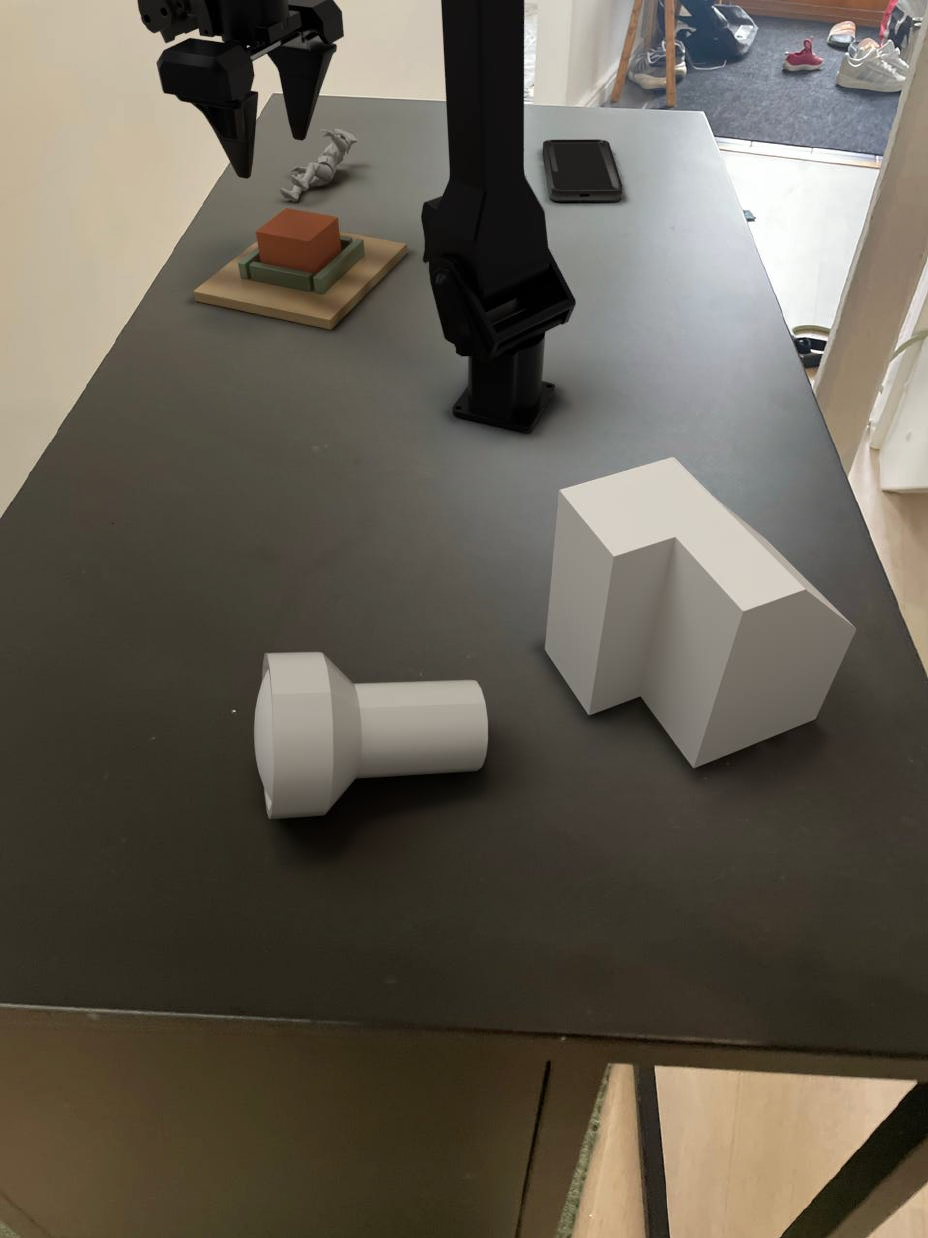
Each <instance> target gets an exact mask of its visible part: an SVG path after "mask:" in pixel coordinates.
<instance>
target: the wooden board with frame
mask: <svg viewBox="0 0 928 1238" xmlns="http://www.w3.org/2000/svg"><path fill="white" fill-rule="evenodd" d="M339 232H340V242H341V253H340V254H339V255H338V256H337V257H335V258H334V259H333V260H332V261H331V262H330V263H329V264H328V265H327V266H326V267H324V268H323V269H322V270H321V271H320V272H319V273H318V274H317V275H316V276H314V278H313V273H310V272H305V271H300V270H295V269H290V268H284V267H279V266H274V265H269V264H264V263H261V260H260V254H259V248H258V242H257V240H256V241H255V242H253V243H252V244H251V245H250V246H249V247H247V248H246V249H244V251H242V252H241V253H240V254H238V255H237V256H236V257H234V258H233V259H232V260H231V261H229V262H228V263H227V264H226V265H224V266H223V267H222V268H220V269H219V270H218V271H217V272H215V273H214V274H213V275H212V276H210V277H209V278H208V279H207V280H205V281H204V282H202V284H200V285H199V286H198V287H197V288H195V289H194V290H193V291H192V292H193V296H194V300H195V302H198V303H203V304H207V305H212V306H217V307H222V308H226V309H230V310H236V311H241V312H246V313H249V314H255V315H259V316H264V317H269V318H274V319H279V320H281V321H282V320H283V321H288V322H292V323H297V324H301V325H306V326H311V327H316V328H320V329H325V330H329V331H332V330H333V329H334V328H335V327H336V326H337V325H338V324H339V323H340V321H342V320H343V319H344V318H345V317H346V316H347V315H348V314H349V312H351V311H352V310H353V309H354V307H356V306H357V304H359V303H360V301H362V300H363V299H364V298H365V296H366V295H367V294H368V293H369V292H370V291H371V290H372V289H373V288H374V287H375V286H376V285H378V283H379V282H380V281H381V280H382V279H384V277H385V276H386V275H388V273H389V272H390V271H391V270H392V269H394V268H395V266H396V265H397V264H398V263H399V262H400V261H401V260H402V259H403V258H404V257H405V256H406V255H407V254H408V245H407V243H406V242H405V243H404V242H398V241H394V240H389V239H383V238H378V237H372V236H365V235H361V234H356V233H355V234H354V233H349V232H343V231H339Z"/></svg>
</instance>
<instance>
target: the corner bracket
mask: <svg viewBox="0 0 928 1238" xmlns="http://www.w3.org/2000/svg"><path fill="white" fill-rule="evenodd" d="M557 498H558V500H557V501H558V502H557V509H556V510H557V511H556V521H555V531H554V532H555V533H554V543H553V555H552V566H551V577H550V578H551V579H550V586H549V599H548V610H547V621H546V630H545V642H544V651H545V653H546V654H547V656H548V657H549V658H550V660H551V662H552V663H553V664H554V666H555V667H556V669H557V671H558V672H559V674H560V675H561V676H562V678H563V680H564V681H565V683H566V684H567V685H568V687H569V688H570V690H571V691H572V693H573V694H574V696H575V697H576V699H577V700H578V702H579V703H580V704H581V706H582V707H583V709H584V710H585V712H586V713H587V716H591V715H594V714H597V713H600V712H602V711H605V710H607V709H610V708H613V707H615V706H618V705H620V704H624V703H625V702H629V701H632V700H634V699H637V698H639V697H640V698H641V700H643V702H644V703H645V705H646V706H647V707H648V709H649V710H650V712H651V713H652V714H653V716H654V717H655V718H656V720H657V722H659V724H660V725H661V726H662V728H663V729H664V730H665V732H666V733H667V734H668V736H669V737H670V738H671V740H672V741H673V743H674V744H675V745H676V747H677V748H678V749H679V751H680V752H681V753H682V755H683V756H684V758H685V759H686V760H687V762H688V763H689V765H690V766H691V767H692V769H696V768H698V767H700V766H701V767H702V766H703V765H706V764H708V763H710V762H713V761H716V760H718V759H720V758H723V757H726V756H728V755H731V754H733V753H736V752H738V751H740V750H743V749H745V748H748V747H751V746H753V745H756V744H757V743H760V742H763V741H765V740H768V739H770V738H773V737H775V736H777V735H780V734H783V733H785V732H788V731H790V730H792V729H795V728H797V727H800V726H802V725H805V724H807V723H810V722H812V721H814V720H816V719H817V717H818V715H819V712H820V710H821V708H822V706H823V704H824V702H825V700H826V697H827V695H828V693H829V691H830V689H831V686H832V684H833V682H834V680H835V677H836V675H837V674H838V672H839V668H840V667H841V664H842V662H843V660H844V658H845V656H846V653H847V652H848V649H849V647H850V645H851V643H852V640H853V638H854V636H855V634H856V632H857V628H856V627H855V626H854V625H853V624H852V623H851V622H850V621H849V619H847V618H846V617H845V616H844V615H843V614H842V613H841V612H840V611H839V610H838V609H837V608H836V607H835V606H834V605H833V604H832V603H831V601H829V600H828V599H827V598H826V597H825V595H823V594H822V593H821V592H820V591H819V590H818V589H817V588H816V587H815V586H814V585H813V584H812V583H811V582H810V581H809V580H808V579H807V578H806V577H805V576H804V575H803V574H802V573H801V572H799V570H798V569H796V567H794V565H793V564H791V562H790V561H789V560H787V558H786V557H785V556H784V555H783V554H782V553H781V552H780V551H779V550H778V549H777V548H775V546H773V544H772V543H770V541H769V540H768V539H767V538H765V536H763V535H762V534H760V533H759V532H758V531H757V530H755V529H754V528H753V527H752V526H751V525H749V524H748V523H747V522H746V521H744V520H743V519H742V518H741V517H740V516H739V515H737V514H736V513H734V512H733V511H732V510H731V509H729V508H728V507H727V506H726V505H725V504H723V502H721V501H720V500H718V499H717V498H716V497H715V496H714V495H713V494H712V493H710V491H708V490H707V489H706V488H705V487H704V486H703V485H702V484H701V483H700V481H698V480H697V478H695V477H694V476H693V475H692V474H691V473H690V472H689V471H688V470H687V469H686V468H685V467H684V465H683V464H681V463H680V462H679V461H678V460H677V459H676V458H675V457H674V456H671V457H668V458H664V459H661V460H657V461H653V462H650V463H647V464H644V465H641V466H637V467H633V468H630V469H626V470H623V471H620V472H616V473H612V474H610V475H606V476H602V477H598V478H596V479H593V480H592V479H591V480H589V481H585V482H581V483H579V484H575V485H572V486H571V485H570V486H568V487H564V488H561V489H559V490H558V497H557Z"/></svg>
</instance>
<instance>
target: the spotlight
mask: <svg viewBox="0 0 928 1238" xmlns="http://www.w3.org/2000/svg"><path fill="white" fill-rule="evenodd" d="M253 740H254V741H253V742H254V754H255V761H256V765H257V771H258V774H259V777H260V779H261V783H262V785H263V793H264V794H263V795H264V801H265V809H266V815H267V817H268V819H269V820H279V819H290V818H291V819H292V818H305V817H317V816H319V817H321V816H325V815H326V814H327V813H328V812H329V811H330V810H331V809H332V807H333V806H335V804H336V802H337V801H338V800H339V799H340V798H341V796H343V794H344V793H345V792H346V791H347V789H349V787H350V786H351V785H352V783H353V782H354V781H355V780H358V779H371V778H386V777H387V778H389V777H403V776H418V775H419V776H420V775H436V774H437V775H438V774H451V773H453V774H454V773H465V772H466V773H467V772H478V771H479V770H480V769H481V768H483V765H484V763H485V759H486V757H487V751H488V743H489V720H488V713H487V705H486V700H485V697H484V693H483V690H482V688H481V685H480V684H479V683H478V681H477V680H475V679H452V680H449V679H448V680H421V681H419V680H417V681H416V680H415V681H389V682H387V681H386V682H360V683H357V682H356V683H353V682H352V681H351V680H350V679H349V678H348V677H347V676H346V675H345V674H344V672H342V670H340V669H339V668H338V667H337V665H335V664H334V662H332V661H331V659H330V658H329V657H328V656H326V655H325V653H323V652H321V651H293V652H292V651H291V652H290V651H289V652H287V651H286V652H264V657H263V661H262V673H261V684H260V688H259V691H258V694H257V699H256V705H255V710H254V723H253Z"/></svg>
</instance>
